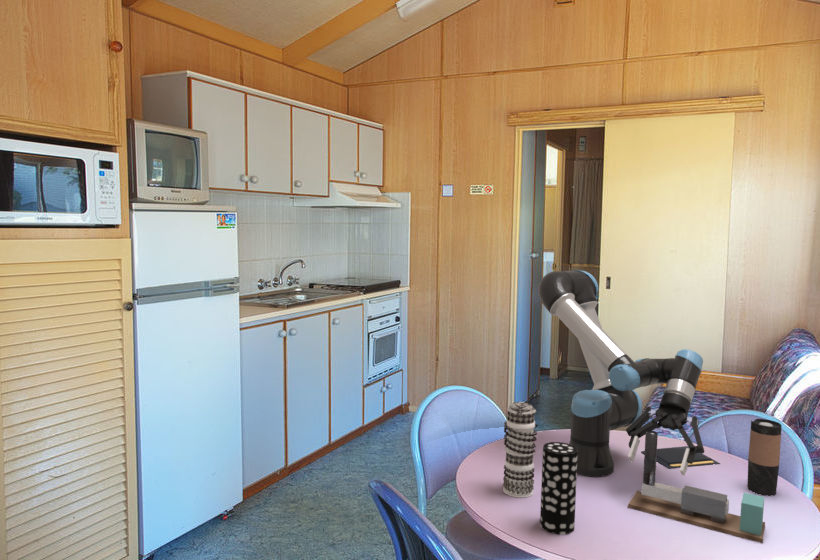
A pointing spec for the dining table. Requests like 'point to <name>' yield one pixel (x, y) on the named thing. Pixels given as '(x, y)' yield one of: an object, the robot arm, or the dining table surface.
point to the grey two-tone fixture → (649, 474)
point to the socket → (752, 513)
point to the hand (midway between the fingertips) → (655, 466)
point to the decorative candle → (519, 450)
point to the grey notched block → (703, 503)
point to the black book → (680, 458)
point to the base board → (698, 519)
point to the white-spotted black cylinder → (558, 487)
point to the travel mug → (764, 456)
